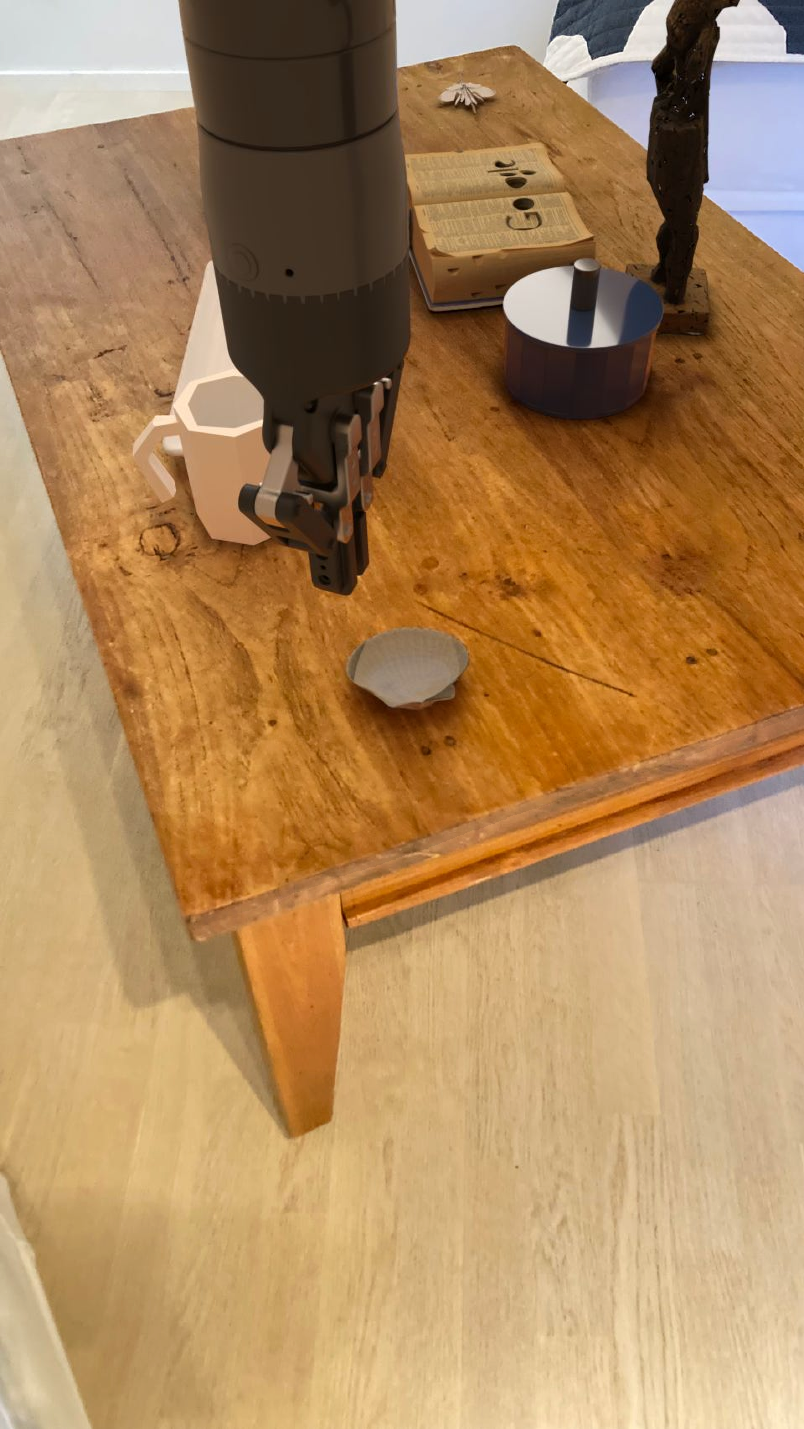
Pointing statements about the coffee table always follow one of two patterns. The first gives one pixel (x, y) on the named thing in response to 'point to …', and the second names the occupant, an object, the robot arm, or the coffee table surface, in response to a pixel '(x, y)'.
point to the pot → (575, 378)
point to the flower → (466, 92)
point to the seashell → (409, 666)
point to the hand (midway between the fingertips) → (341, 577)
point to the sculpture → (681, 160)
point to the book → (488, 222)
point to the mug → (212, 451)
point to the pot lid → (583, 308)
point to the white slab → (202, 348)
